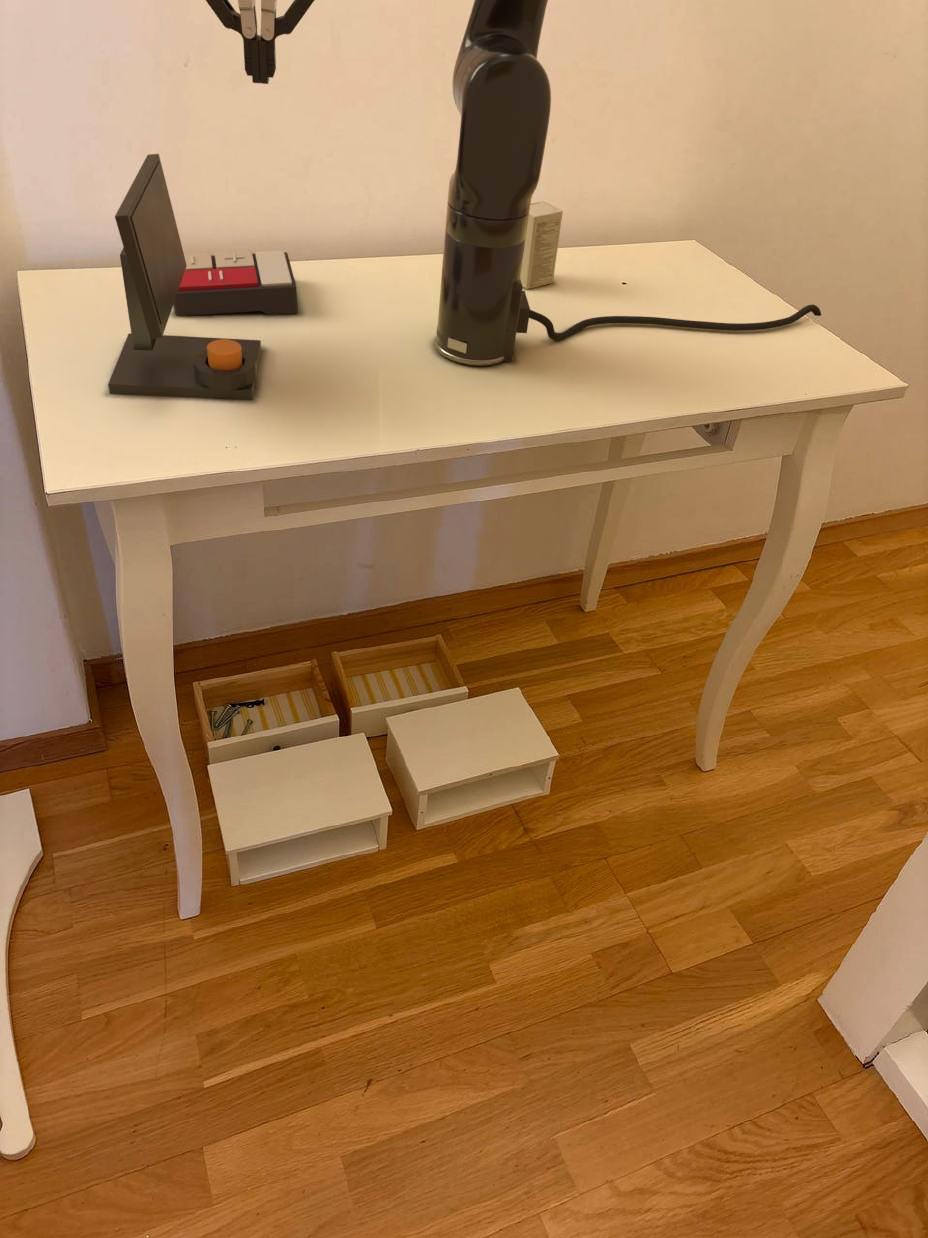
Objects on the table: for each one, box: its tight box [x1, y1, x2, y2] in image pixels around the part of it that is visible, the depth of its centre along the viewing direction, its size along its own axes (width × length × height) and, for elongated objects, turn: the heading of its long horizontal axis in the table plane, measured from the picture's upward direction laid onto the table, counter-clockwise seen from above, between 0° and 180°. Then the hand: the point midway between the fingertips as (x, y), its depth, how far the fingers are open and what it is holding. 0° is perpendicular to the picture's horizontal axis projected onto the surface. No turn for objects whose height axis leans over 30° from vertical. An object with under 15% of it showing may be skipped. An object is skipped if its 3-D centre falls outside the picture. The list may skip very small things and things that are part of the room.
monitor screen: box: [114, 153, 187, 339], centre depth 98 cm, size 2×18×12 cm, turn 4°
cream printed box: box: [520, 200, 563, 290], centre depth 132 cm, size 5×4×10 cm
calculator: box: [173, 250, 299, 317], centre depth 121 cm, size 11×4×15 cm
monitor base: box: [107, 332, 262, 401], centre depth 106 cm, size 15×12×3 cm
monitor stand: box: [119, 246, 157, 350], centre depth 101 cm, size 2×3×10 cm, turn 5°
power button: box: [207, 338, 242, 371], centre depth 103 cm, size 4×4×2 cm
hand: (261, 81), depth 92 cm, fingers closed
